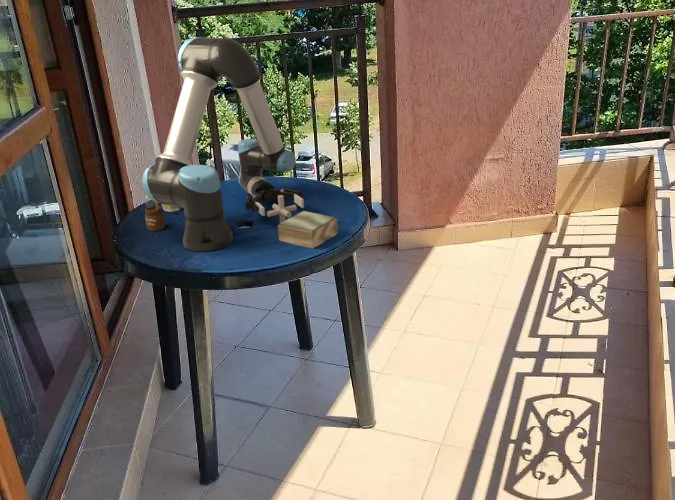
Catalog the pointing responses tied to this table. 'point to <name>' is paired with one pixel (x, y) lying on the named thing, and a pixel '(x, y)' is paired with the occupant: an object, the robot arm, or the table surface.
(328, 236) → the lidded wooden box
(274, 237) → the table surface
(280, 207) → the pipe connector
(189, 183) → the robot arm
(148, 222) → the utensil holder
